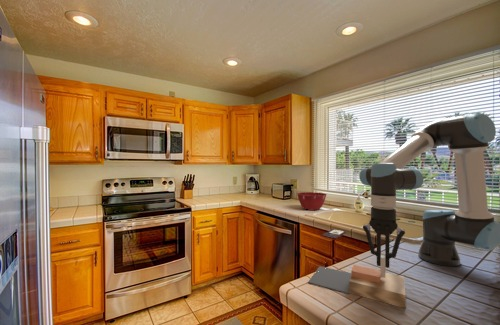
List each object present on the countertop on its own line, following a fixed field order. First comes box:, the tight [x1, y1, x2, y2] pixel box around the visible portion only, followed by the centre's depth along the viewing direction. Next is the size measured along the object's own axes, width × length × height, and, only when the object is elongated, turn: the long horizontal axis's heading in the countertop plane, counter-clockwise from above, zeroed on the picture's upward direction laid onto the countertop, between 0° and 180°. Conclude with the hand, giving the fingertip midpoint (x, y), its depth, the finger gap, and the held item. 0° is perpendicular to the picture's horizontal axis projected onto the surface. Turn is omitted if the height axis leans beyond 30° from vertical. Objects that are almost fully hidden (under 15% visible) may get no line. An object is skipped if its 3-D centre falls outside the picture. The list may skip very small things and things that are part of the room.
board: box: [349, 272, 407, 309], centre depth 81 cm, size 16×14×4 cm
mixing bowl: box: [296, 191, 327, 211], centre depth 232 cm, size 28×28×16 cm
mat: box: [307, 265, 351, 295], centre depth 89 cm, size 14×16×1 cm
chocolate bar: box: [320, 228, 347, 240], centre depth 147 cm, size 9×1×18 cm
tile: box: [350, 264, 381, 283], centre depth 83 cm, size 9×6×2 cm, turn 59°
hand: (383, 275), depth 80 cm, fingers closed
